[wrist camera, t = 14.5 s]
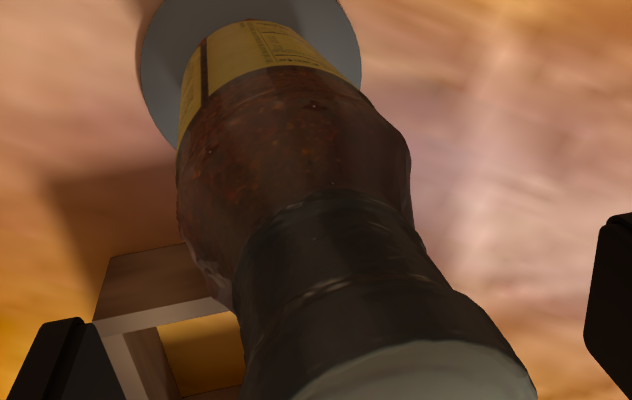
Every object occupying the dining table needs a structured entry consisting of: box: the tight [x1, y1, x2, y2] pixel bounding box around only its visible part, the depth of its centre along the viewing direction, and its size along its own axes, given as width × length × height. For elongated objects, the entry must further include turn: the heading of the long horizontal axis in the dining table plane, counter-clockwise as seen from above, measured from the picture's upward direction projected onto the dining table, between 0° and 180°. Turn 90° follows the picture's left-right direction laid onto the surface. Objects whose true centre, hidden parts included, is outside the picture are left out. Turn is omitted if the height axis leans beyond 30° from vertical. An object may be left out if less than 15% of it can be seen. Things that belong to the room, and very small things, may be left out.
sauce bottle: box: [175, 18, 538, 400], centre depth 15 cm, size 7×6×20 cm
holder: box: [92, 243, 242, 400], centre depth 29 cm, size 12×12×5 cm
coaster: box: [140, 0, 362, 150], centre depth 24 cm, size 10×10×1 cm
